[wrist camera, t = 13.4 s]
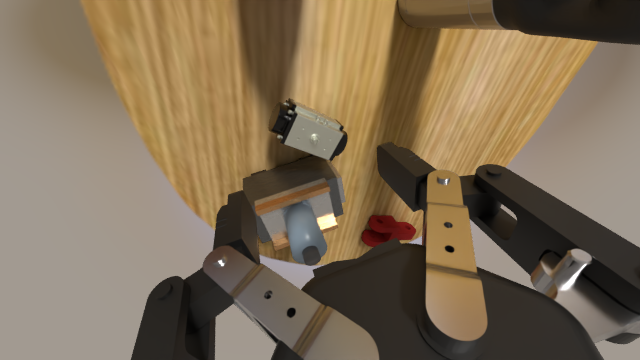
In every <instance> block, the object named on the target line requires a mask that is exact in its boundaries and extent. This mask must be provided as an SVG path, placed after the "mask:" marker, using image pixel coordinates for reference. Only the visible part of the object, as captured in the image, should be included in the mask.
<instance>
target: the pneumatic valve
mask: <svg viewBox="0 0 640 360" xmlns="http://www.w3.org/2000/svg"><path fill="white" fill-rule="evenodd" d="M268 128H269V131H270V132H273V133H275V134H277V135H278V136H277V138H278V139H279V141H280V143H282V144H285V145H288V146H290V147H293V148H296V149H299V150H302V151H305V152H307V153H310V154H313V155H316V156H319V157H321V158H324V159H327V160H330V161H332V160H333V158H334V157H335V156H337V155H339V154H341V153H342V151H343V150H344V148H345V146H346V144H347V133H346V132H345V131H343V128H344V127H343V126H342V125H341V124H340V123H339V122H338V121H337V120H335V119H333V118H331V117H329V116H326V115H324V114H322V113H320V112H318V111H316V110H314V109H311V108H309V107H307V106H305V105H303V104H301V103H298V102H296V101H294V100H292V99H290V98H289V99H288V101H287V100H286V102H284V104H283V103H280V102H279V103H277V105H276V106H275V108H274V110H273V112H272V115H271V118H270V121H269V127H268Z"/></svg>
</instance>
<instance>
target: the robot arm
mask: <svg viewBox="0 0 640 360" xmlns="http://www.w3.org/2000/svg"><path fill="white" fill-rule="evenodd" d="M398 7H399V11H400V14H401V17H402V19H403V20H404V21H405V23H406V24H408V25H409V26H412V27H415V28H445V29H484V30H488V29H490V30H519V31H521V32H523V33H525V34H529V35H539V36H552V37H563V38H572V39H581V40H590V41H599V42H609V43H621V44H622V43H623V44H635V45H638V44H639V45H640V0H398ZM377 162H378V171H379V174H380V176H381V177H382V178H383V179H384V180H385V181H386V182H387V184H388V185H389V186H390V187H391V188H392V189H393V190H394V191H395V192H396V193H397V194H398V195H399V197H400V198H401V199H402V200H403V201H404V202H405V203H406V204H407V205H408V206H409V207H410V208H411V210H412V211H413V212H415V211H418V210H420V209H422V210H423V211H424V214H423V232H422V245H418V244H411V243H403V244H401V243H400V242H399V240H398V239H397V238H394V239H392V240H389V241H387V242H384V243H381V244H379V245H376V246H375V247H374V248H372V249H371V250H369V251H368V252H367V253H365V254H364V255H362V256H361V257H359V258H357V259H350V260H343V261H336V262H332V263H329V264H327V265H324V266H321V267H319V268H317V269H314V270H313V273H314V276H315V277H314V278H312V279H311V280H310V281H309V282H307V283H306V284H305V286H304V287H303V288H302V289H301V290H300V289H299V288H297V287H296V286H294V285H293V284H292V283H290V282H288V281H287V280H286V279H284V278H282V277H281V276H280V275H278V274H277V273H275V272H274V271H272V270H271V269H270V268H268V267H267V266H265V265H263V264H260V258H259V245H258V234H257V222H256V216H255V213H254V211H253V209H252V207H251V205H250V203H249V201H248V199H247V197H246V195H245V193H244V192H243V190H241V191H238V192H235V193H232V194H229V195H228V205H225V206H222V207H221V209H220V210H219V212H218V214H217V220H216V222H217V223H216V229H215V238H214V246H213V251H212V252H210V253H209V254H208V256H207V257H206V258H205V260H204V262H203V267H202V268H201V269H200V270H198V271H197V272H195V273H194V274H192V275H191V276H189V277H187V278H186V279H184V280H183V279H182V278H181V277H179V276H173V277H170V278H167V279H165V280H163V281H162V282H160V283H159V284H158V285H157V286H156V287H155V288H154V289H153V290H152V292H151V293H150V295H149V297H148V299H147V303H146V306H145V310H144V313H143V317H142V321H141V325H140V328H139V332H138V336H137V339H136V343H135V346H134V350H133V354H132V358H131V360H215V317H216V316H217V315H219V314H220V313H221V312H223V311H224V310H225V309H227V308H228V307H229V306H231V305H232V304H234V305H235V306H237V307H238V308H239V309H240V310H241V311H242V312H243V313H244V314H245V315H246V316H247V317H248V318H249V319H250V320H252V321H253V322H254V323H255V324H256V325H257V326H258V327H259V328H260V329H261V330H262V331H263V332H264V333H265V334H266V335H267V336H268V337H269V338H270V339H271V340H272V341H273V342H274V343H275V344H276V345H277V346H276V348H275V350H274V353H273V355H272V358H271V360H604V359H603V357H602V356H601V354H600V353H599V351H598V349H597V348H596V346H595V344H594V343H597V342H599V341H602V340H606V341H609V342H612V343H617V344H628V343H630V342H632V341H634V340H635V339H637V338H639V337H640V248H639V247H637V246H636V245H634V244H632V243H631V242H629V241H627V240H626V239H624V238H622V237H621V236H619V235H617V234H616V233H614V232H612V231H611V230H609V229H607V228H606V227H604V226H602V225H601V224H599V223H597V222H595V221H594V220H592V219H590V218H589V217H587V216H586V215H584V214H582V213H580V212H579V211H577V210H576V209H574V208H572V207H570V206H569V205H567V204H565V203H564V202H562V201H560V200H559V199H557V198H555V197H554V196H552V195H550V194H549V193H547V192H545V191H544V190H542V189H540V188H539V187H537V186H535V185H533V184H532V183H530V182H528V181H527V180H525V179H524V178H522V177H520V176H519V175H517V174H515V173H514V172H512V171H510V170H508V169H507V168H505V167H502V166H499V165H493V164H486V165H482V166H479V167H478V168H477V169H476V173H475V175H468V176H458V175H457V174H456V173H454V172H451V171H448V170H436V169H435V168H433V167H432V166H431V165H429V164H428V163H427V162H425V161H424V160H423V159H420V157H419V156H417V155H415V153H413V152H412V151H410V150H409V149H406V148H403V147H399V148H398V147H397V146H396V145H394V144H393V143H392V142H388V143H385V144H382V145H379V146H377ZM501 204H503V205H504V206H506V207H507V208H508V209H510V210H511V211H512V212H513V213H514V214H515V215H516V217H517V220H516V219H514V218H513V217H512V216H510V215H509V214H508V213H507V212H505V211H504V210H503V209H501V208H500V207H501ZM469 219H471V220H472V221H473V222H474V223H475V224H476V225H477V226H478V227H479V228H480V229H481V230H482V231H483V232H485V234H487V235H488V236H489V237H490V238H491V239H492V240H493V241H494V242H495V243H496V244H497V245H498V246H499V247H501V249H503V250H504V251H505V252H506V253H507V254H508V255H509V256H510V257H511V258H512V259H513V260H514V261H515V262H517V264H519V265H520V266H521V267H522V268H523V269H524V270H525V271H526V272H527V273H528V274H529V275H530V276H531V282H532V284H533V286H534V287H535V289H536V290H537V291H536V290H534V289H531V288H529V287H526V286H524V285H521V284H518V283H516V282H513V281H511V280H509V279H506V278H504V277H501V276H499V275H496V274H494V273H491V272H489V271H486V270H484V269H481V268H479V267H476V261H475V254H474V247H473V240H472V234H471V227H470V220H469Z"/></svg>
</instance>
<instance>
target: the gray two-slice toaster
mask: <svg viewBox="0 0 640 360" xmlns="http://www.w3.org/2000/svg"><path fill="white" fill-rule="evenodd" d="M243 192H244V193H245V195H246V197H247V199H248V201H249V203H250V205H251V207H252V209H253V211H254V213H255V216H256V222H257V234H258V236H259V238H260V239H261V241H262V243H265V242H267V241H270V240H272V241H273V246H274V249H275V251H276V250H279V249H282V248H284V247H287V246H290V243H289V239H288V234H287V230H286V226H285V222H284V213H285V211H286V210H287V209H288V208H289V207H291V206H292V205H295V204H299V203H304V204H308V205H309V206H311V207H312V209H313V212H314V214H315V217H316V219H317V222H318V224H319V227H320V229H321V232H322V234H323V233H325V232H328V231H331V230H334V229H336V228H338V224H337V222H336V220H335V217H337V216H340V215H342V214H343V209H342V203H343V202H345V196H344V190H343V184H342V178H341V176H340V175H339V173H338V172H337V170H336V169H335V167H334V166H333V164H332V162H331V161H330V162H327V161H326V160H325V159H324V158H321V157H319V156H316V155H315V156H314V155H313V154H312V155H309V156H306V157H303V158H300V159H299V161H296V162H293V163H290V164H287V165H284V166H280V167H277V168H274V169H271V170H268V171H266V170H263V171H259V172H256V173H253V174H251V176H250V177H246V178H243Z"/></svg>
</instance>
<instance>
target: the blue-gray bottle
mask: <svg viewBox="0 0 640 360" xmlns="http://www.w3.org/2000/svg"><path fill="white" fill-rule="evenodd" d="M284 222H285V226H286V230H287V234H288V239H289V243H290V247H291V252H292V256H293V259H294V260H295V261H296V262H299V263H305V264H306V265H309V266H311V265H315V264H317V263H318V262H319V261H320V260H321V257H322V256H323V255H324V254H325V253H326V251H327V244H326V242H325V239H324V237H323V234H322V232H321V229H320V227H319V224H318V222H317V219H316V217H315V214H314V212H313V209H312V207H311V206H309V205H308V204H304V203H299V204H295V205H292V206H291V207H289V208H288V209H287V210H286V211H285V213H284Z"/></svg>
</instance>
